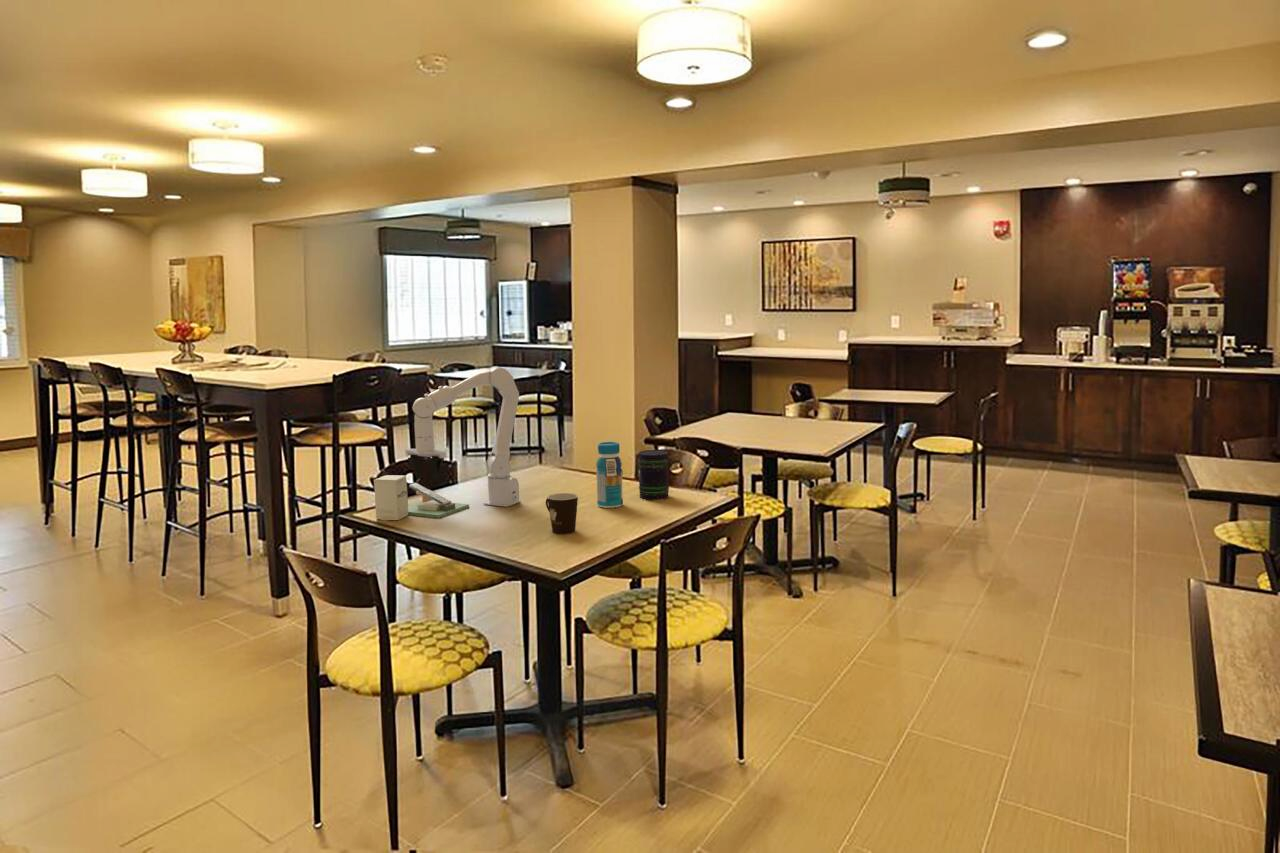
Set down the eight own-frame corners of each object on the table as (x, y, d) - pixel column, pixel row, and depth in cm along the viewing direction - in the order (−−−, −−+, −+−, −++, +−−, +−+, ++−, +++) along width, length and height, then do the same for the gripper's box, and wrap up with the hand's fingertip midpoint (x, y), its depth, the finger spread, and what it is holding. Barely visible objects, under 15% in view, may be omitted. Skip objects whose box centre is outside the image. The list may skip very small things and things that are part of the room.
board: (469, 507, 271) (468, 500, 271) (438, 518, 258) (438, 510, 257) (424, 502, 279) (423, 495, 278) (392, 513, 265) (392, 505, 265)
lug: (434, 501, 276) (434, 489, 276) (424, 504, 272) (423, 492, 271) (427, 500, 278) (426, 488, 277) (416, 503, 273) (415, 491, 272)
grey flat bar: (450, 503, 267) (451, 501, 266) (443, 505, 263) (444, 503, 263) (415, 484, 272) (416, 482, 272) (408, 487, 269) (408, 484, 268)
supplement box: (398, 521, 255) (395, 480, 254) (375, 520, 257) (372, 479, 255) (409, 515, 262) (407, 475, 261) (387, 514, 264) (384, 474, 262)
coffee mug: (582, 533, 237) (581, 498, 236) (551, 536, 235) (550, 501, 234) (573, 523, 248) (572, 490, 247) (544, 526, 246) (542, 492, 245)
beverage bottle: (591, 507, 268) (590, 444, 265) (605, 501, 275) (603, 440, 273) (615, 509, 264) (613, 446, 261) (628, 503, 272) (626, 442, 269)
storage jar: (633, 496, 282) (632, 452, 280) (656, 492, 288) (655, 448, 285) (651, 501, 274) (650, 456, 272) (675, 497, 280) (674, 452, 278)
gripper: (397, 437, 265) (400, 480, 267) (434, 439, 259) (437, 483, 260) (412, 433, 271) (415, 475, 273) (449, 436, 265) (451, 478, 267)
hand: (427, 479), depth 267 cm, fingers open, 5 cm apart
